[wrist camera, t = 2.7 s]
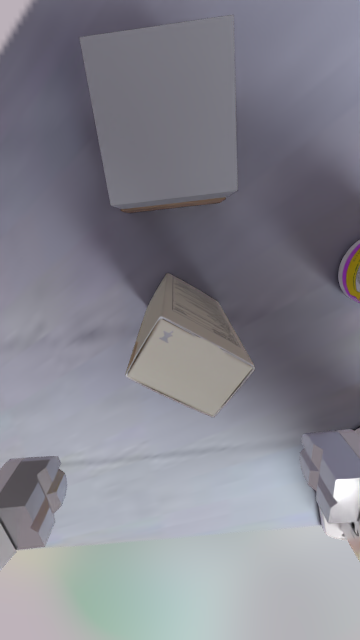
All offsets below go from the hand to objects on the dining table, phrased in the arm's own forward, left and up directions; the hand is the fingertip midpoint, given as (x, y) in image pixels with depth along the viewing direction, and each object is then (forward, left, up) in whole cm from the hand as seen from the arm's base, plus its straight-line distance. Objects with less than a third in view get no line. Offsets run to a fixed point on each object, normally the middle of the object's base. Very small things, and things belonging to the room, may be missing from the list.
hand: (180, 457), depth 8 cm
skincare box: (0, 0, -18) cm, 18 cm away
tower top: (+13, 0, -15) cm, 19 cm away
